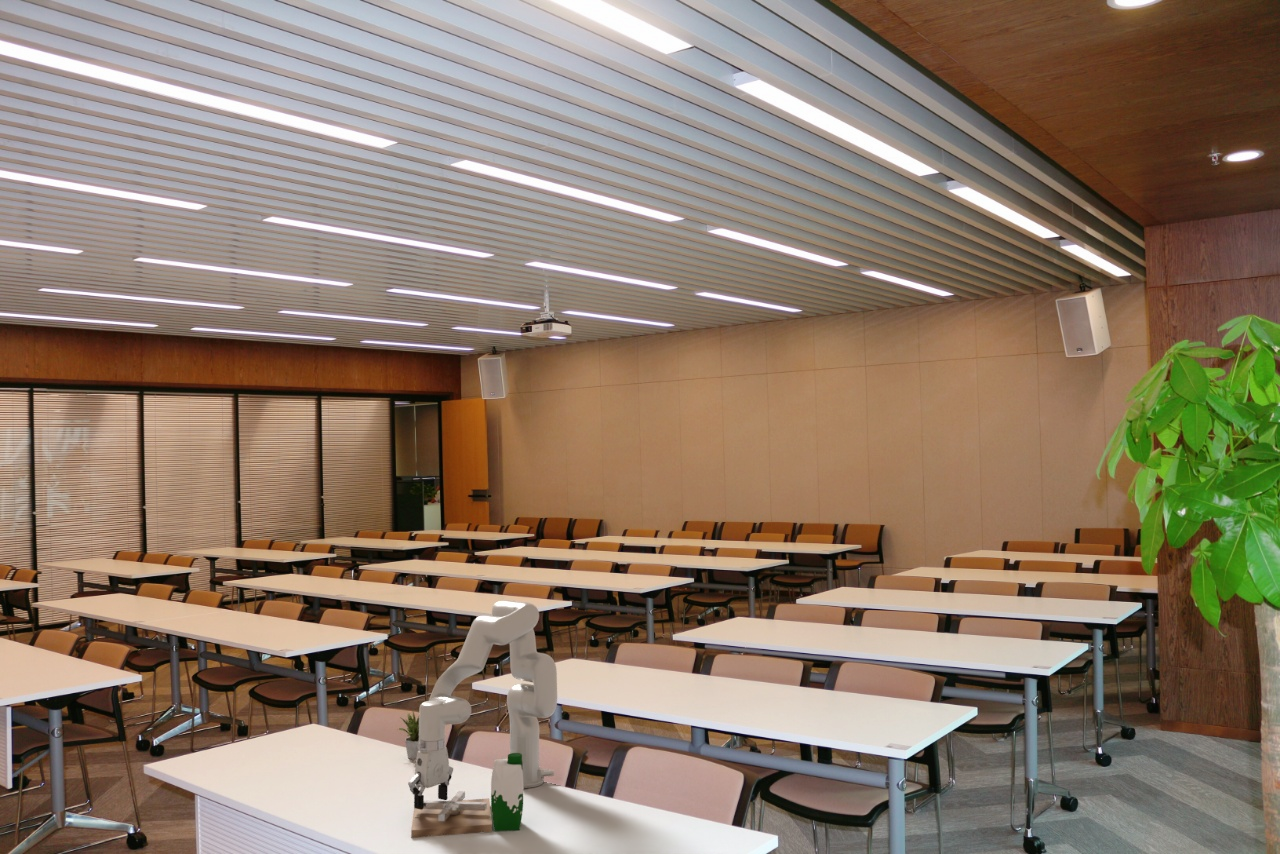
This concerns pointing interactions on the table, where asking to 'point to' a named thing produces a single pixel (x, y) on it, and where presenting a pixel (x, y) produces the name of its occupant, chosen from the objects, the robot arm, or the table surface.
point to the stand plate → (451, 822)
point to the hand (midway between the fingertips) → (430, 803)
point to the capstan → (454, 806)
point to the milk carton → (507, 793)
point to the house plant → (412, 736)
